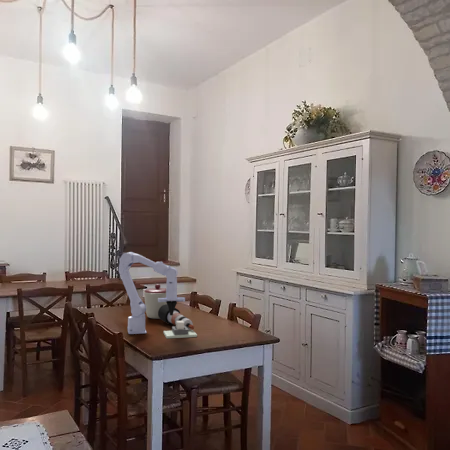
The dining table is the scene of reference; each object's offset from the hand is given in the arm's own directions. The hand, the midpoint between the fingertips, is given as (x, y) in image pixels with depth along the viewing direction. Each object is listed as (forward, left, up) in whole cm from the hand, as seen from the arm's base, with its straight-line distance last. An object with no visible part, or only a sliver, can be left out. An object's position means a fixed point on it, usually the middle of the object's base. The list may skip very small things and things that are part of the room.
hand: (171, 315), depth 257 cm
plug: (+4, -5, -9) cm, 11 cm away
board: (+4, -5, -10) cm, 12 cm away
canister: (-2, +45, -10) cm, 46 cm away
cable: (+6, +13, -10) cm, 17 cm away
